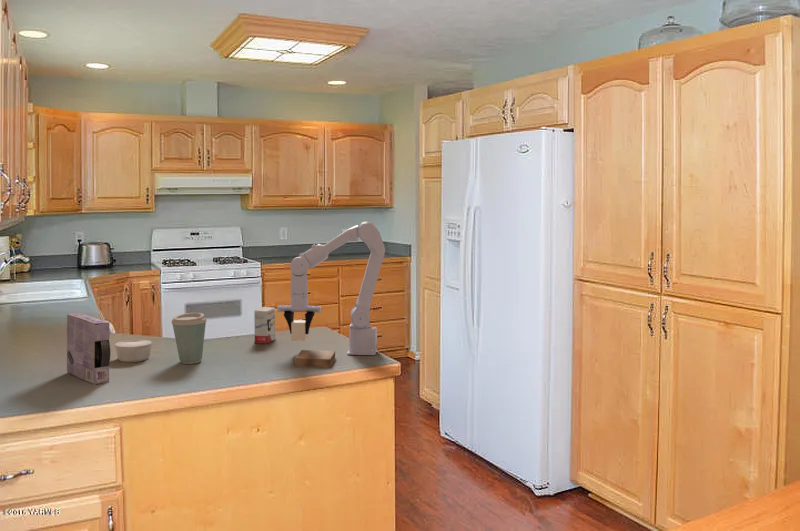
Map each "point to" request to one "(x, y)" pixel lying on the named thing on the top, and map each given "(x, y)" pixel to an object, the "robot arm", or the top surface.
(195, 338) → the disposable coffee cup
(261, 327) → the ink box
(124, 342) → the ramekin
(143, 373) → the top surface
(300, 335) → the cream block
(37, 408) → the top surface
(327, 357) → the walnut block
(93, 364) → the cake pan box
